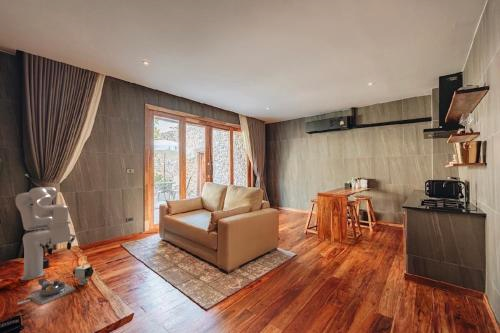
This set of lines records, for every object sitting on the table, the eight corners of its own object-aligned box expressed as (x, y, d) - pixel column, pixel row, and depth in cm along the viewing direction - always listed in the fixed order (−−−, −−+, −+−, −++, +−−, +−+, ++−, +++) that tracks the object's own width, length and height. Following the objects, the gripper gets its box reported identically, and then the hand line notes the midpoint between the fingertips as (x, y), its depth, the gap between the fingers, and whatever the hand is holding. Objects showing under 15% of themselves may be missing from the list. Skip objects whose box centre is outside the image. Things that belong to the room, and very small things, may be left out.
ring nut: (28, 289, 132) (28, 282, 132) (51, 280, 142) (51, 274, 142) (45, 297, 122) (45, 290, 123) (68, 288, 132) (68, 281, 132)
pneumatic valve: (87, 286, 138) (87, 267, 138) (72, 284, 140) (72, 266, 141) (94, 282, 143) (95, 264, 144) (80, 280, 146) (80, 262, 146)
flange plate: (14, 303, 121) (14, 300, 121) (62, 284, 140) (62, 282, 141) (26, 310, 114) (26, 308, 114) (75, 290, 133) (75, 287, 133)
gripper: (73, 221, 148) (72, 246, 148) (39, 227, 133) (39, 255, 132) (78, 222, 145) (78, 248, 144) (45, 228, 129) (44, 257, 129)
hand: (59, 251), depth 138 cm, fingers open, 9 cm apart
